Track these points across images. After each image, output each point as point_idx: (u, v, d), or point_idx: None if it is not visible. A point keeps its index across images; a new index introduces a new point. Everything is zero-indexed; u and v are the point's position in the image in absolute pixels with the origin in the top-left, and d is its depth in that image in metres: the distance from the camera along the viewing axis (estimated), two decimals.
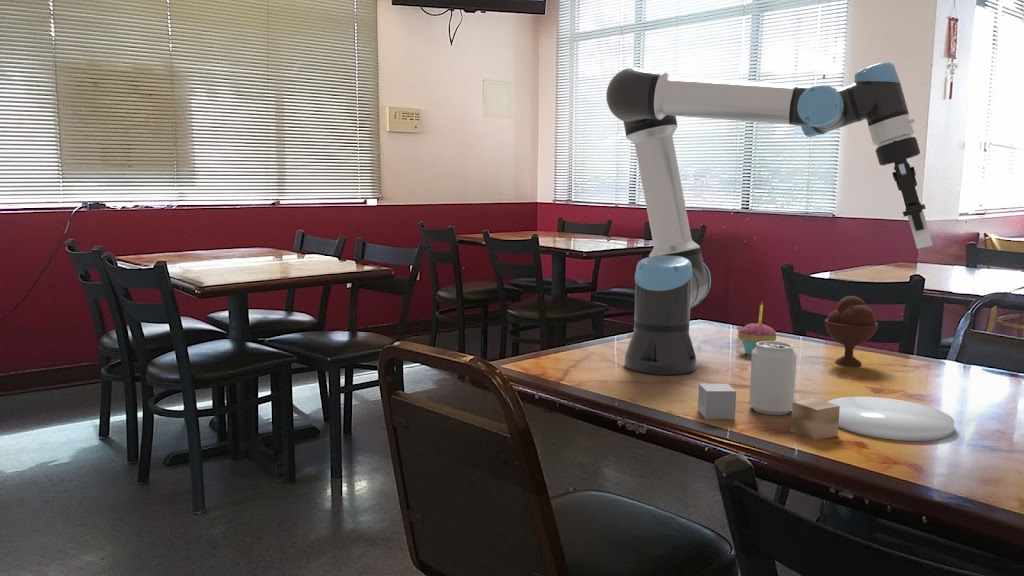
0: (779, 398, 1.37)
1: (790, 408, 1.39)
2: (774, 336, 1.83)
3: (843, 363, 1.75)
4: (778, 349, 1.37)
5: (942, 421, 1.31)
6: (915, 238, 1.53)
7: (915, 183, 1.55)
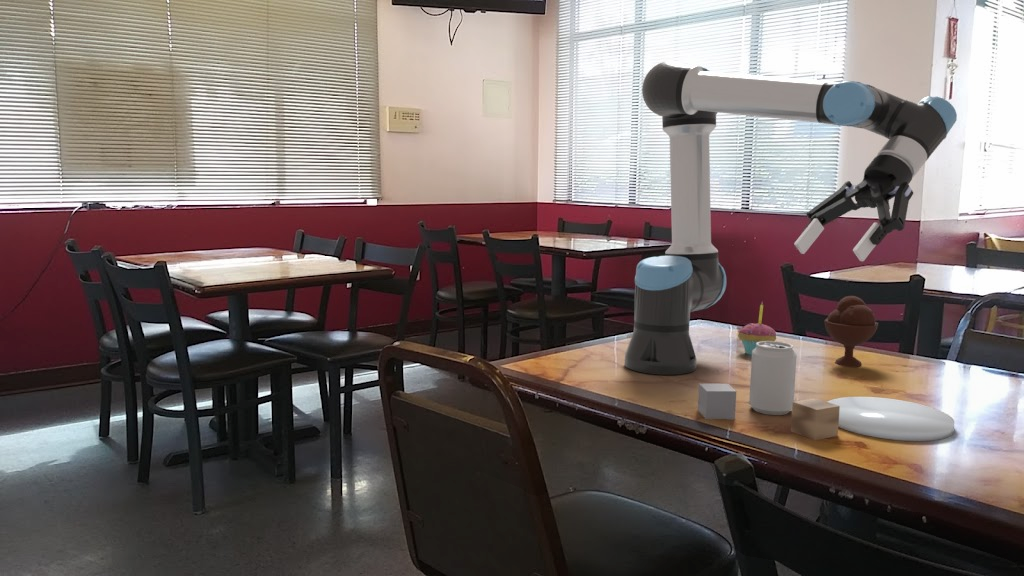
0: (779, 398, 1.37)
1: (790, 408, 1.39)
2: (774, 336, 1.83)
3: (843, 363, 1.75)
4: (778, 349, 1.37)
5: (942, 421, 1.31)
6: (863, 243, 1.36)
7: None
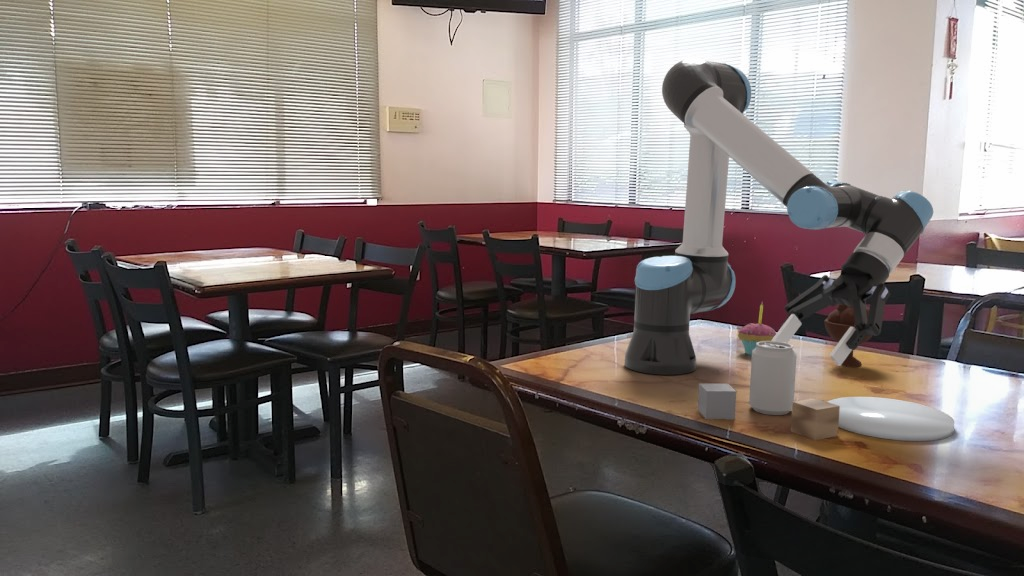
0: (779, 398, 1.37)
1: (790, 408, 1.39)
2: None
3: (843, 363, 1.75)
4: (778, 349, 1.37)
5: (942, 421, 1.31)
6: (839, 348, 1.35)
7: None
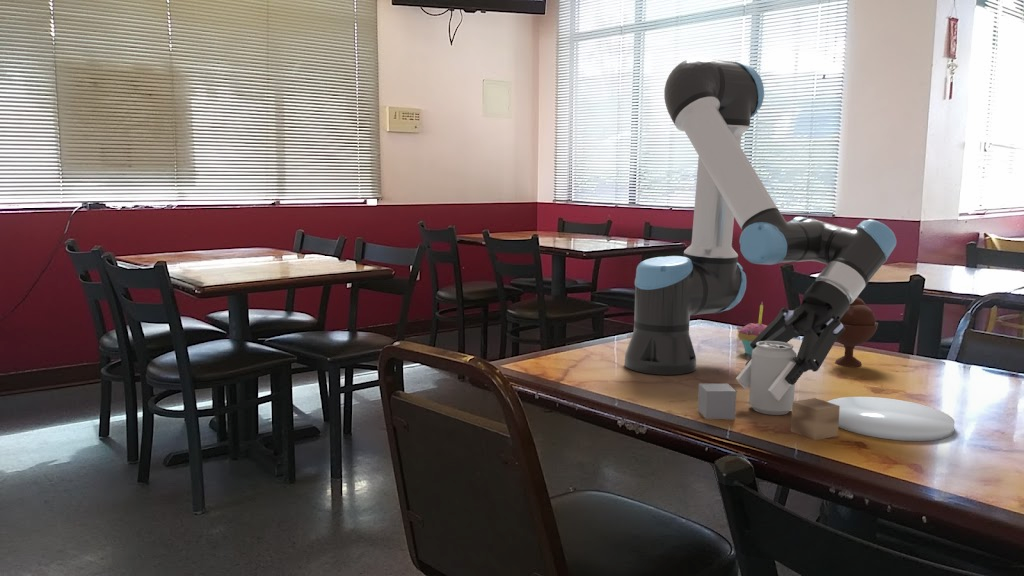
0: None
1: (790, 408, 1.39)
2: None
3: (843, 363, 1.75)
4: (778, 349, 1.37)
5: (942, 421, 1.31)
6: (778, 383, 1.35)
7: None
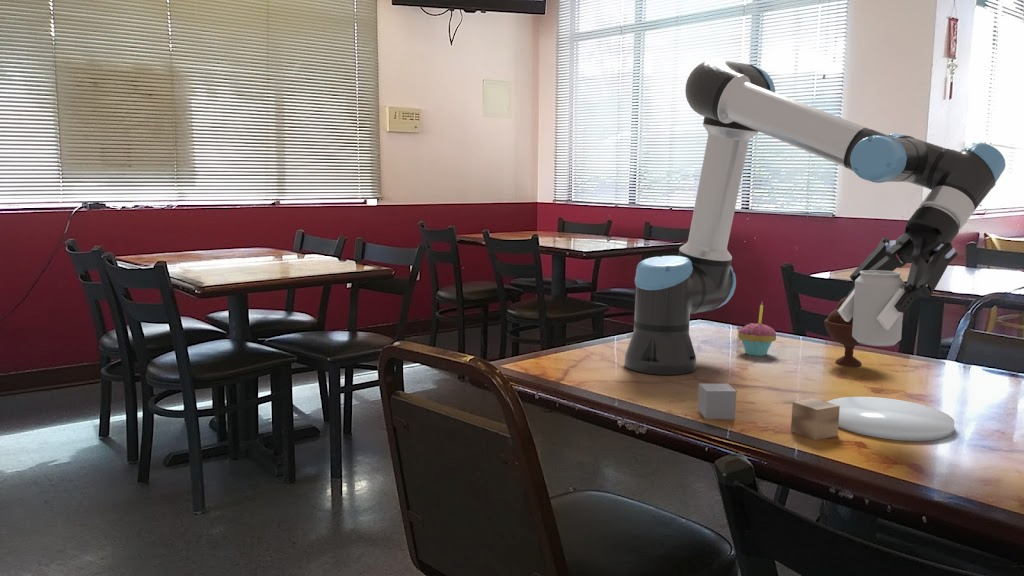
0: None
1: (898, 339, 1.31)
2: (774, 336, 1.83)
3: (843, 363, 1.75)
4: (886, 275, 1.29)
5: (942, 421, 1.31)
6: (887, 311, 1.28)
7: None
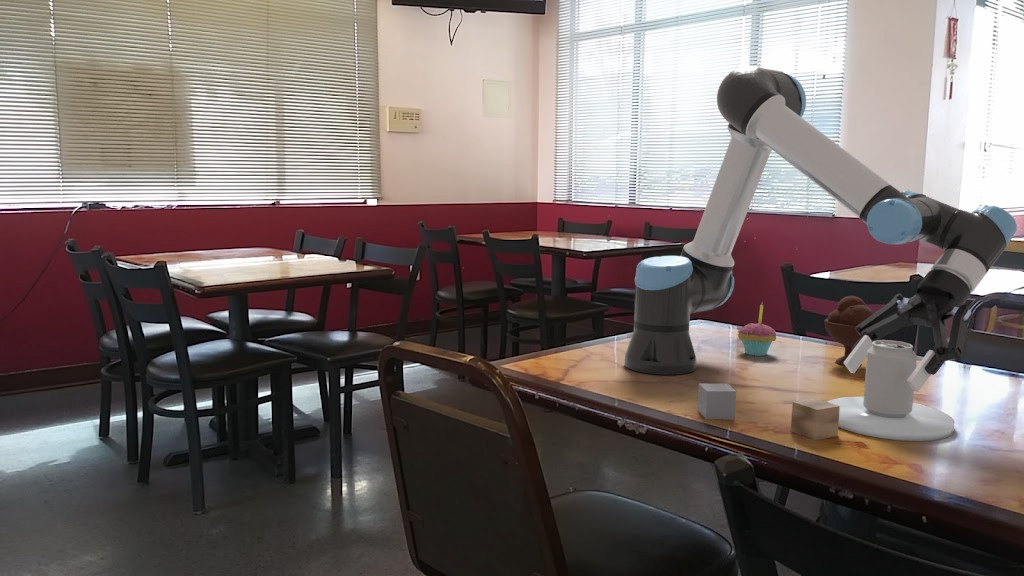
0: (899, 400, 1.31)
1: (910, 410, 1.32)
2: (774, 336, 1.83)
3: (843, 363, 1.75)
4: (899, 349, 1.31)
5: (942, 421, 1.31)
6: (918, 373, 1.27)
7: None
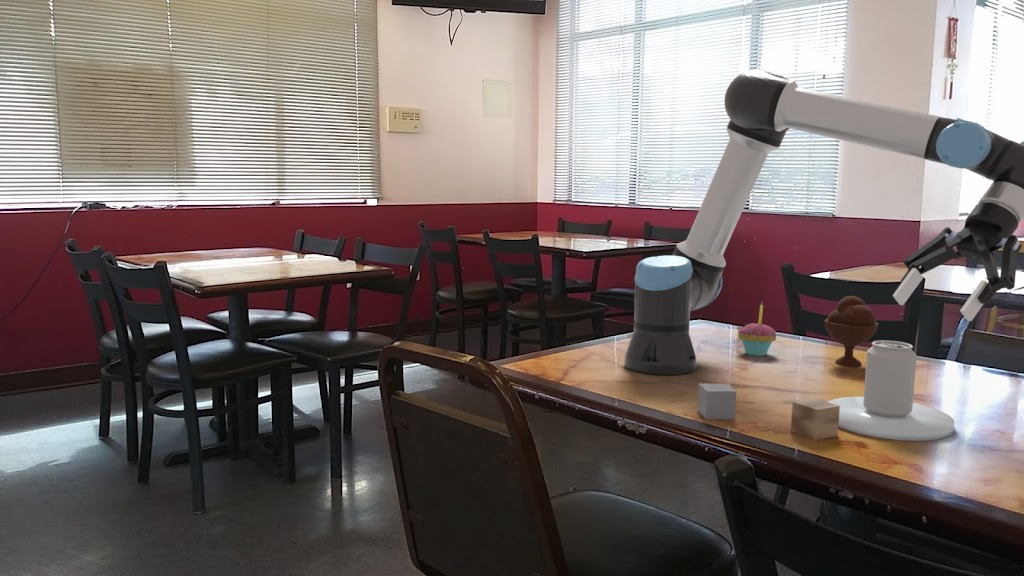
0: (899, 400, 1.31)
1: (909, 411, 1.32)
2: (774, 336, 1.83)
3: (843, 363, 1.75)
4: (898, 349, 1.31)
5: (942, 421, 1.31)
6: (971, 303, 1.32)
7: None
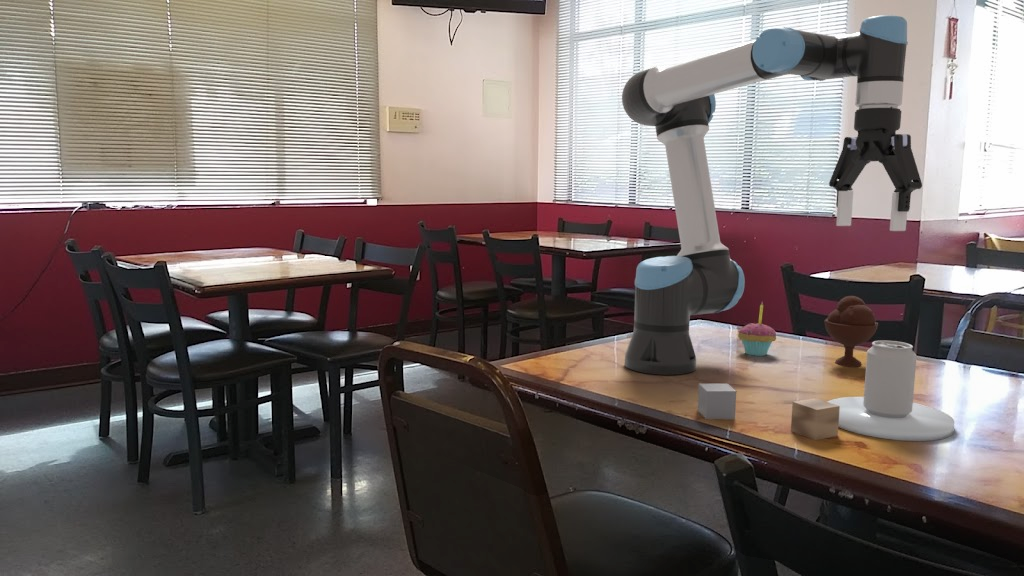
0: (899, 400, 1.31)
1: (909, 411, 1.32)
2: (774, 336, 1.83)
3: (843, 363, 1.75)
4: (898, 349, 1.31)
5: (942, 421, 1.31)
6: (895, 219, 1.37)
7: (896, 160, 1.40)
